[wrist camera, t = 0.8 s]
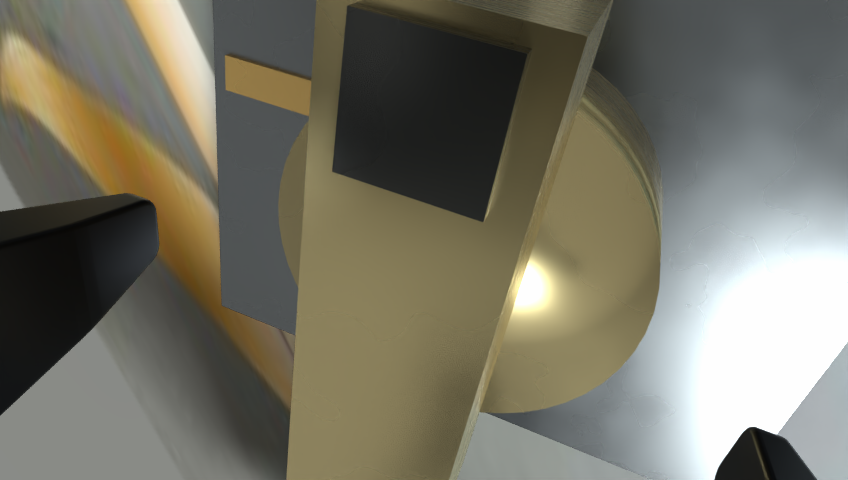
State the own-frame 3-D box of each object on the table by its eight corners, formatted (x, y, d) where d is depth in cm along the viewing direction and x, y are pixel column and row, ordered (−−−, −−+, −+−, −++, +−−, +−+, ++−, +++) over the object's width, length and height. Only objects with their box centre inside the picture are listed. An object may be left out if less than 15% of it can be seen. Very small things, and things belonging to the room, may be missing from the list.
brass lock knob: (576, 415, 13) (528, 667, 9) (325, 316, 15) (176, 495, 10) (768, 2, 8) (867, 114, 4) (365, -91, 10) (114, -81, 5)
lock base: (716, 452, 18) (725, 575, 15) (256, 274, 21) (180, 342, 18) (1170, -202, 9) (1446, -256, 6) (264, -330, 12) (117, -411, 9)
